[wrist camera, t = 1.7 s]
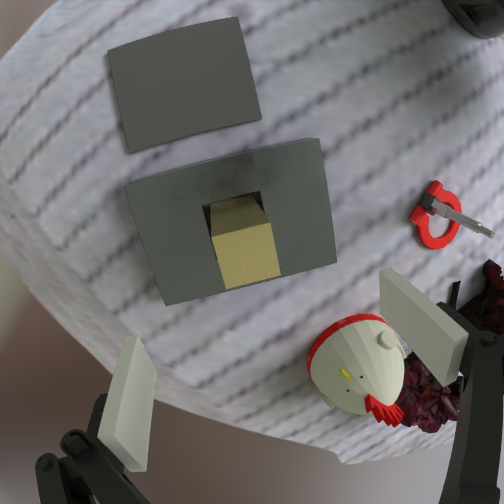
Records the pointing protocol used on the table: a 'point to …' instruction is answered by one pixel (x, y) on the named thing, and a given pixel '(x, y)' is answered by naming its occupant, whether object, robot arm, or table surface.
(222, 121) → the rubber mat
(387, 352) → the kitchen timer
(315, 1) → the table surface
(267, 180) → the socket plate
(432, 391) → the flower arrangement
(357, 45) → the table surface
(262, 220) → the brass plug
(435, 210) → the tow hook
